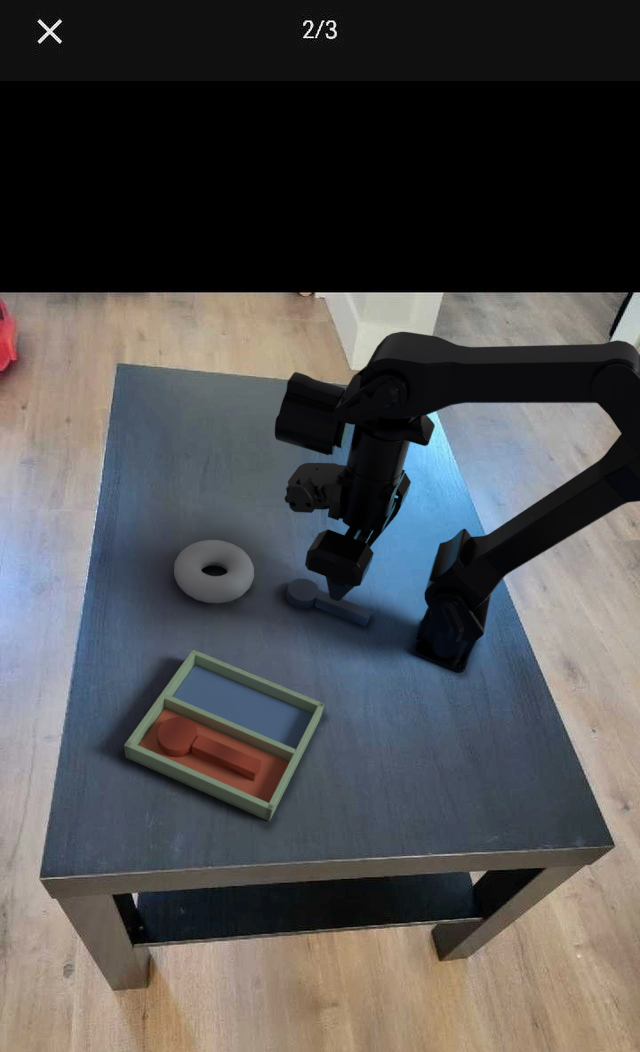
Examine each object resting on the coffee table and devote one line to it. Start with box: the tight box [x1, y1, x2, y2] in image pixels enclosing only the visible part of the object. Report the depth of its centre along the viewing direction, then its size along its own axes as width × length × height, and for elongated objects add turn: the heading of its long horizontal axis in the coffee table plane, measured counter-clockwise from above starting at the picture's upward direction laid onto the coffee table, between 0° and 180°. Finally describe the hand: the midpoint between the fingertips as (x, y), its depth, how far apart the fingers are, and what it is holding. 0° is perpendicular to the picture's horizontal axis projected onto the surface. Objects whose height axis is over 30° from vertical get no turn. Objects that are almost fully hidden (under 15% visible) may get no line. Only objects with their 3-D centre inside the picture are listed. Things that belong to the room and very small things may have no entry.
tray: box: [123, 649, 325, 822], centre depth 72 cm, size 16×14×2 cm
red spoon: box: [157, 717, 262, 781], centre depth 69 cm, size 11×4×2 cm, turn 68°
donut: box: [173, 539, 255, 604], centre depth 86 cm, size 10×4×10 cm
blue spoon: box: [286, 577, 372, 627], centre depth 86 cm, size 11×4×2 cm, turn 68°
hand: (347, 574), depth 82 cm, fingers open, 9 cm apart
